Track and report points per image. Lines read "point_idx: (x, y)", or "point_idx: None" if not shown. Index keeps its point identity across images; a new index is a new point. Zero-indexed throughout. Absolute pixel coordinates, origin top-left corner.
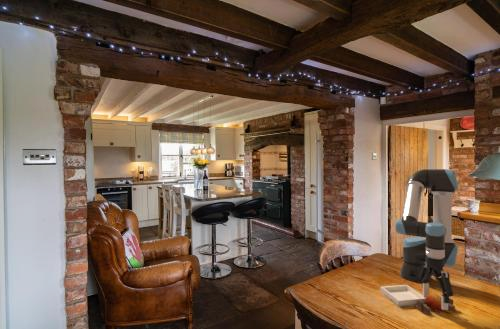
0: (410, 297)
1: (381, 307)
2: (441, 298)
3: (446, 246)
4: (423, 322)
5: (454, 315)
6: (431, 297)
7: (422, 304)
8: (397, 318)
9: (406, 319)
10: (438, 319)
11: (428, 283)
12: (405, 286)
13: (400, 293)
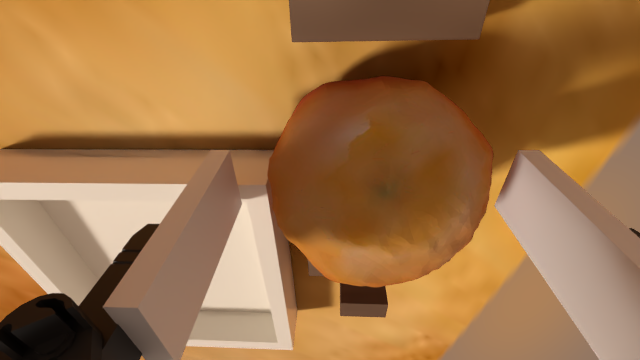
0: None
1: (293, 356)
2: (568, 313)
3: None
4: (471, 296)
5: (523, 38)
6: (396, 282)
7: (385, 296)
8: (394, 351)
9: (414, 333)
10: (491, 215)
11: (137, 311)
12: None
13: (123, 246)
